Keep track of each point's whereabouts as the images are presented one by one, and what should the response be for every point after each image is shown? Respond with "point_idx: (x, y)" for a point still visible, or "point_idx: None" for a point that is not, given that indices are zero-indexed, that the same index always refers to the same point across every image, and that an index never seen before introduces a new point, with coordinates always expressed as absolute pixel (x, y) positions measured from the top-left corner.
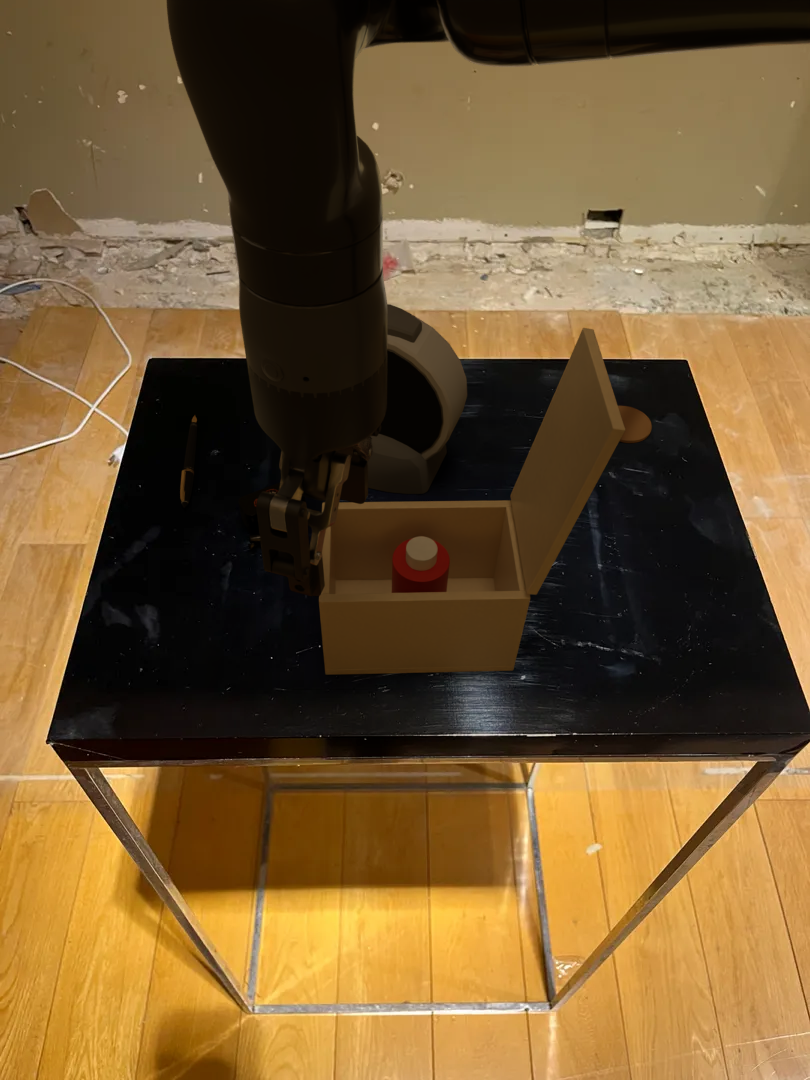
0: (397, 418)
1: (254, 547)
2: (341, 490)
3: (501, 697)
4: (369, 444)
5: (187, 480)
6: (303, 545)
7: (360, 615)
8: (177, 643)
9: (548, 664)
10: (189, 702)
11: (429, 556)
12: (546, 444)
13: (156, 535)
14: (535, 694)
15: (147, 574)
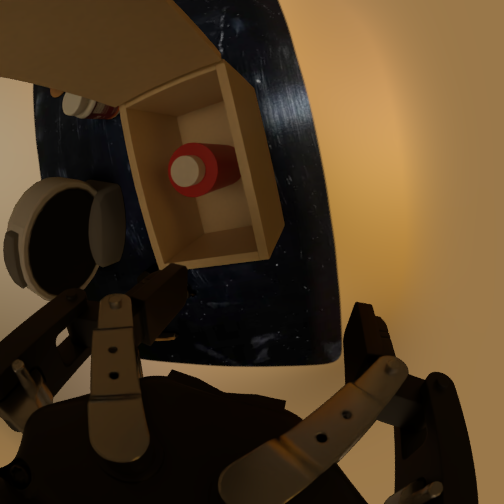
0: (74, 223)
1: (193, 292)
2: (179, 303)
3: (279, 93)
4: (107, 337)
5: (160, 337)
6: (457, 440)
7: (265, 215)
8: (275, 322)
9: (243, 66)
10: (317, 307)
11: (192, 161)
12: (62, 67)
13: (201, 345)
14: (271, 71)
15: (229, 346)
